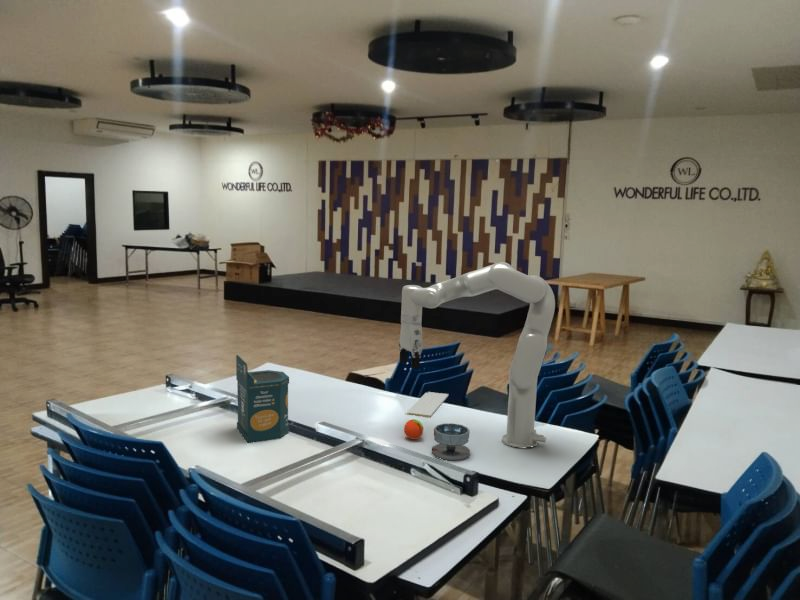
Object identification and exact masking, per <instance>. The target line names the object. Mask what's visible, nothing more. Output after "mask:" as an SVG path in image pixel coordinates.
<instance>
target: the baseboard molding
mask: <svg viewBox="0 0 800 600" xmlns="http://www.w3.org/2000/svg"><path fill="white" fill-rule="evenodd" d="M426 391H427V392H426ZM431 391H433V390H430V391H428V390H427V389H425V390H424V391H423V392H422V393H423V395H422V396H421V397H420V398H419V399H418V400H416V402H415V403H414V404H413V405H412V406H411V407H410V408H409V409H407V411H406V412H405V413H404V415H406V414H407V415H408V416H413V415H415V416H414V417H421V416H422V418H428V417H430V418H431V417H432V416H433V415H434V414H435V412H436V411H437V410H438V409H439V408H440V407H441V405H442V404H443V403H444V402H445V401H446V400H447V398H448V397H449V392H448V391H446V393H444V392H441V391H440V390H438V389H435V391H433V392H431ZM441 403H442V404H441ZM439 406H440V407H439ZM407 415H406V416H407Z"/></svg>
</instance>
